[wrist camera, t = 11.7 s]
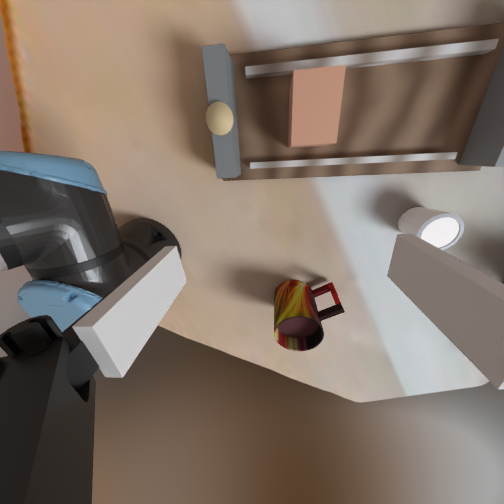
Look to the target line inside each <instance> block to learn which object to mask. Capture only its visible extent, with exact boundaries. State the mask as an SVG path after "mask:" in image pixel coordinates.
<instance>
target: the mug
mask: <svg viewBox="0 0 504 504" xmlns="http://www.w3.org/2000/svg"><path fill="white" fill-rule="evenodd" d="M329 291H331V294H332V296H333V299H334V301H335V304H336V305H334V306H332V307H329V308H326V309H324V310H321V311H319V312H318V310H317V306H316V302H315V297H317V296H319V295H322V294H324V293H327V292H329ZM344 312H345V311H344V309H343V307H342V305H341V302H340V300H339V298H338V294H337V292H336V290H335V288H334V285H333V283H332V282H331V283H328V284H326V285H324V286H322V287H319V288H317V289H315V290H312V289H311V288H310V286H309V285H307V284H306V283H304V282H302V281H298V280H290V281H286V282H284V283H282V284H281V285H279V286H278V287H277V289H276V291H275V298H274V336H275V339H276V341H277V342H278V343H279V344H280V345H281V346H283V347H284V348H286V349H289V350H293V351H307V350H310V349H313V348H315V347H316V346H318V345H319V344H320V343H321V341H322V340H323V337H324V332H323V328H322V324H321V321H322V320H324V319H327V318H330V317H332V316H335V315H338V314H341V313H344Z"/></svg>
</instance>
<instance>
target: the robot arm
mask: <svg viewBox="0 0 504 504" xmlns="http://www.w3.org/2000/svg"><path fill="white" fill-rule="evenodd" d="M106 195H107V192H106V191H105V190H104V188H103V186H102V184H101V181H100V179H99V176H98V174H97V172H96V170H95V169H94V167H93V166H92V165H90V164H89V163H87V162H85V161H83V160H80V159H76V158H70V157H63V156H55V155H46V154H36V153H24V152H11V151H0V270H1V271H5V270H9V269H12V268H15V267H19V266H22V265H24V266H25V267H26V269H27V270H28V272H29V274H30V275H31V277H32V279H33V281H29V282H27V283H25V284H24V285H23V287H22V288H20V289H19V291H18V302H19V304H20V306H21V307H22V308H23V310H25V312H26V313H27V314H28V315H30V316H31V317H32V318H30V319H28V320H25V321H23V322H21V323H18V324H17V325H15V326H13V327H11V328H9V329H8V330H6V331H5V332H4V333H2V334H1V335H0V347H1V348H2V349H3V350H4V351H5V352H6V353H7V355H8V356H6V357H2V358H0V504H92V478H93V477H92V476H93V447H94V418H95V416H94V415H95V388H96V382H95V379H94V377H93V374H94V373H95V372H96V370H97V369H98V368H100V370H101V371H102V373H103V374H104V375H105V377H124V375H125V374H126V372H127V371H128V369H129V368H130V366H131V364H132V363H133V361H134V360H135V358H136V357H137V355H138V354H139V352H140V351H141V349H142V348H143V346H144V345H145V343H146V342H147V340H148V339H149V337H150V336H151V334H152V333H153V331H154V330H155V328H156V327H157V325H158V324H159V322H160V321H161V319H162V318H163V316H164V315H165V313H166V312H167V310H168V309H169V307H170V306H171V304H172V303H173V301H174V300H175V298H176V297H177V295H178V294H179V292H180V291H181V289H182V288H183V286H184V285H185V283H186V282H187V281H186V278H185V274H184V271H183V267H182V263H181V248H180V245H179V243H178V241H177V239H176V237H175V236H174V235H173V233H172V232H171V231H170V230H169V229H168V228H166V227H165V226H164V225H162V224H160V223H158V222H156V221H153V220H150V219H136V220H133V221H131V222H128V223H126V224H124V225H123V226H122V227H121V228H120V229H119V230H118V228H117V225H116V222H115V219H114V216H113V213H112V210H111V207H110V204H109V201H108V198H107V196H106ZM387 276H388V277H389V278H390V279H391V280H392V281H393V282H394V283H395V284H396V285H397V286H398V287H399V289H400V290H401V291H402V292H403V293H404V294H405V295H406V296H407V297H408V298H409V299H410V300H411V301H412V302H413V303H414V304H415V305H416V306H417V307H418V308H419V309H420V310H421V311H422V312H423V313H424V314H425V315H426V316H427V317H428V318H429V319H430V320H431V321H432V322H433V323H434V324H435V325H436V326H437V327H438V328H439V329H440V330H441V332H442V333H443V334H444V335H445V336H446V337H447V338H448V339H449V340H450V341H451V342H452V343H453V344H454V345H455V346H456V347H457V348H458V349H459V350H460V351H461V352H462V353H463V354H464V355H465V356H466V357H467V358H468V359H469V360H470V361H471V362H472V363H473V364H474V365H475V366H476V367H477V368H478V369H479V370H480V371H481V372H482V373H483V375H484V376H485V377H486V378H487V379H488V380H489V381H490V382H491V383H492V384H493V385H494V386H495V387H496V388H497V389H504V283H503V282H500V281H498V280H496V279H494V278H492V277H490V276H488V275H486V274H485V273H483V272H481V271H479V270H477V269H475V268H474V267H472V266H470V265H468V264H466V263H465V262H463V261H461V260H459V259H457V258H455V257H454V256H452V255H450V254H448V253H446V252H444V251H443V250H441V249H439V248H437V247H435V246H433V245H432V244H430V243H428V242H426V241H424V240H422V239H421V238H419V237H417V236H415V235H413V234H399V235H397V238H396V242H395V246H394V250H393V254H392V258H391V262H390V266H389V271H388V275H387Z"/></svg>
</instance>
